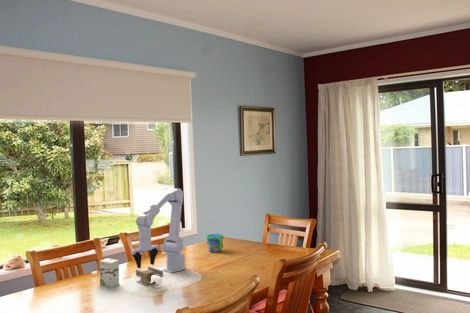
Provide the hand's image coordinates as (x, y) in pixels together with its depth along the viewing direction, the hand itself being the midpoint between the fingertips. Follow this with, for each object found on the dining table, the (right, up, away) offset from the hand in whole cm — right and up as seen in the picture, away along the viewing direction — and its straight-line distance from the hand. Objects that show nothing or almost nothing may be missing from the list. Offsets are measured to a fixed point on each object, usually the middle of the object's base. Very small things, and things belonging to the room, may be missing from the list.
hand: (145, 266), depth 206 cm
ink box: (-17, -9, -2) cm, 19 cm away
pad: (0, -8, 0) cm, 8 cm away
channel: (0, -8, +11) cm, 14 cm away
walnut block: (+1, -8, -1) cm, 8 cm away
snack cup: (+31, -6, +58) cm, 66 cm away
